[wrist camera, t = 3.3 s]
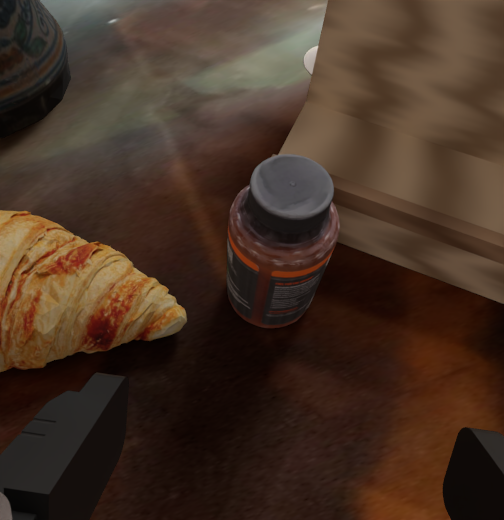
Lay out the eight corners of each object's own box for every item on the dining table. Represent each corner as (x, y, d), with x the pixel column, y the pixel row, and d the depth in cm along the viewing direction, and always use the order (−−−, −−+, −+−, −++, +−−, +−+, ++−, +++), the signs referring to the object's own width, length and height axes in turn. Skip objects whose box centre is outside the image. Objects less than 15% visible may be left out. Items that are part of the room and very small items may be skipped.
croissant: (197, 309, 32) (205, 215, 28) (167, 421, 23) (172, 310, 19) (-82, 270, 31) (-117, 168, 27) (-218, 369, 23) (-300, 244, 18)
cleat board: (576, 216, 34) (815, 25, 21) (577, 331, 29) (901, 178, 15) (305, 124, 38) (355, -93, 24) (260, 213, 32) (291, -2, 19)
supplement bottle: (328, 293, 29) (383, 189, 19) (269, 349, 27) (298, 263, 17) (267, 240, 31) (290, 121, 21) (208, 288, 29) (202, 179, 19)
